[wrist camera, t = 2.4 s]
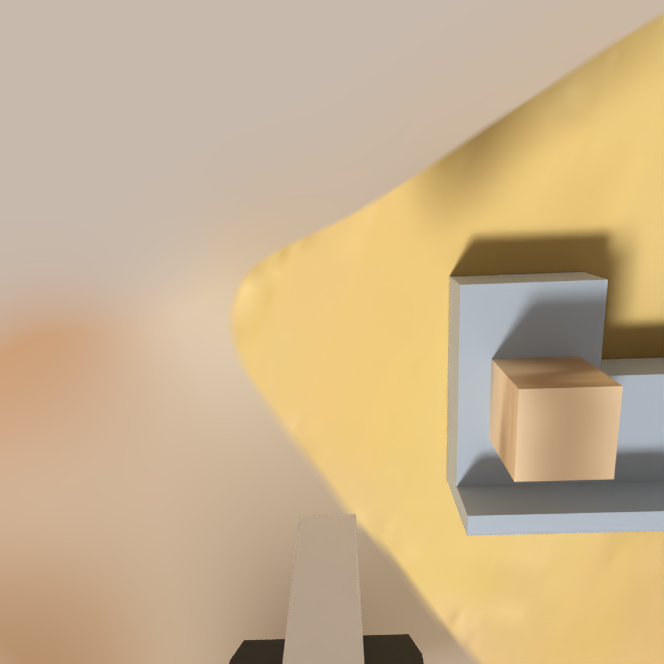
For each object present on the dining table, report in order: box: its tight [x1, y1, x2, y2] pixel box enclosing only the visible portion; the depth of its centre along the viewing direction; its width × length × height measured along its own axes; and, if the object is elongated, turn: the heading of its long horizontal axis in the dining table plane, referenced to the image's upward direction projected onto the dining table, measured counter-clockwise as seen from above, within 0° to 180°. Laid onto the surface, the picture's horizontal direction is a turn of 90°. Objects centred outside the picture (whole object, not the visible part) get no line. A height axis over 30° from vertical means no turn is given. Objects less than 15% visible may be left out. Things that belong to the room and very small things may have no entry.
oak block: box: [489, 356, 623, 482], centre depth 24 cm, size 4×4×4 cm
